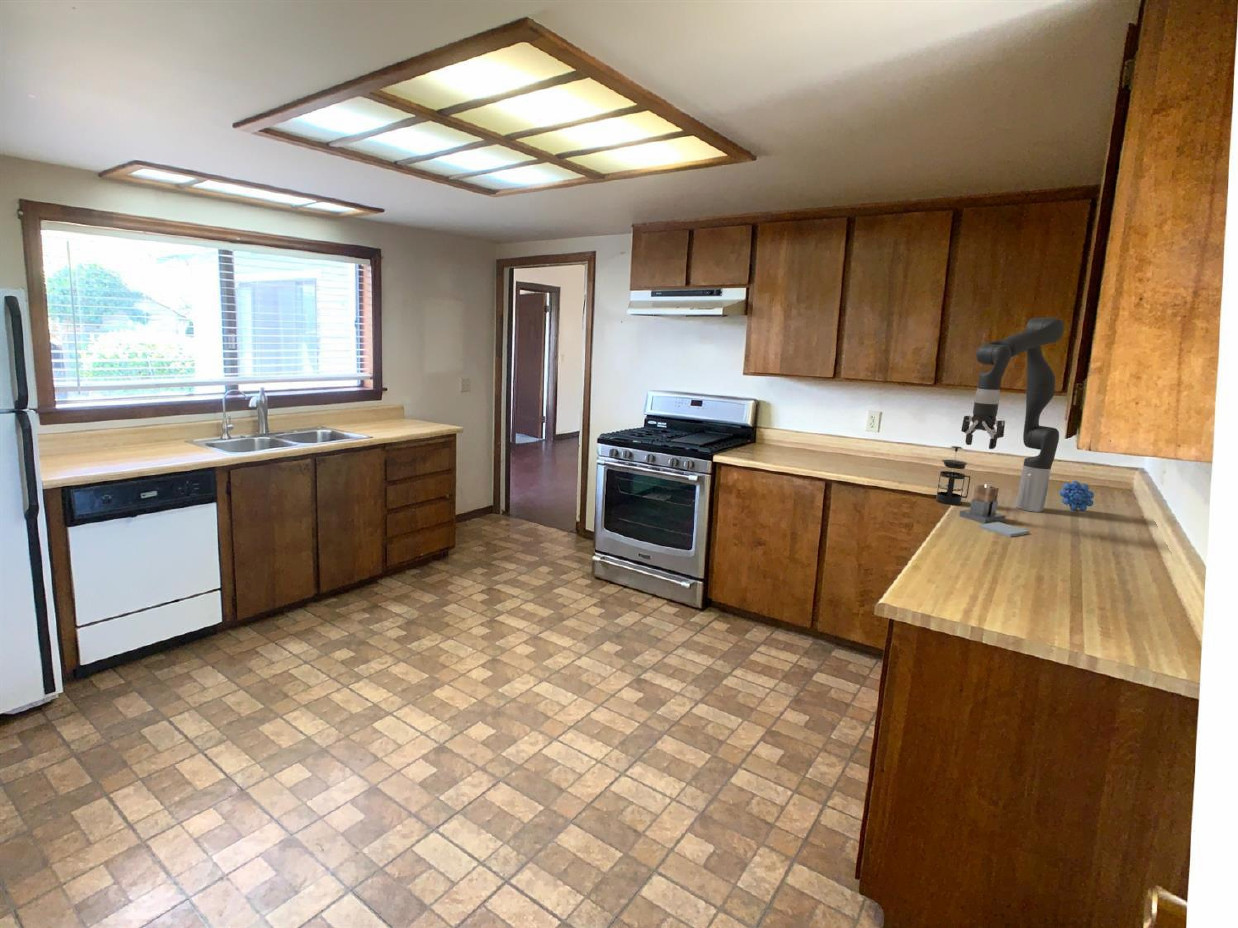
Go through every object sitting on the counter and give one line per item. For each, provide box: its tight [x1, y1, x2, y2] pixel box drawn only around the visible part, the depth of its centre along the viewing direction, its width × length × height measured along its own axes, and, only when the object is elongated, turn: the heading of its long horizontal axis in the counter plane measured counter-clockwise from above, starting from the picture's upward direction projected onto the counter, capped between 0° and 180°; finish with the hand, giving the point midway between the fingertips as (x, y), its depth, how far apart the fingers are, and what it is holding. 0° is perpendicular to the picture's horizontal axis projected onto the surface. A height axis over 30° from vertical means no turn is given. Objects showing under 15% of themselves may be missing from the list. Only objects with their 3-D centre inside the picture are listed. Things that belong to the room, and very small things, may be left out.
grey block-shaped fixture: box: [958, 483, 1007, 524], centre depth 235 cm, size 12×10×13 cm
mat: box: [978, 521, 1030, 538], centre depth 222 cm, size 11×11×1 cm
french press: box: [934, 445, 971, 506], centre depth 256 cm, size 12×9×23 cm
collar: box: [972, 484, 1000, 502], centre depth 235 cm, size 6×6×5 cm
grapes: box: [1059, 480, 1095, 512], centre depth 254 cm, size 12×7×12 cm, turn 61°
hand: (979, 446), depth 229 cm, fingers open, 8 cm apart
